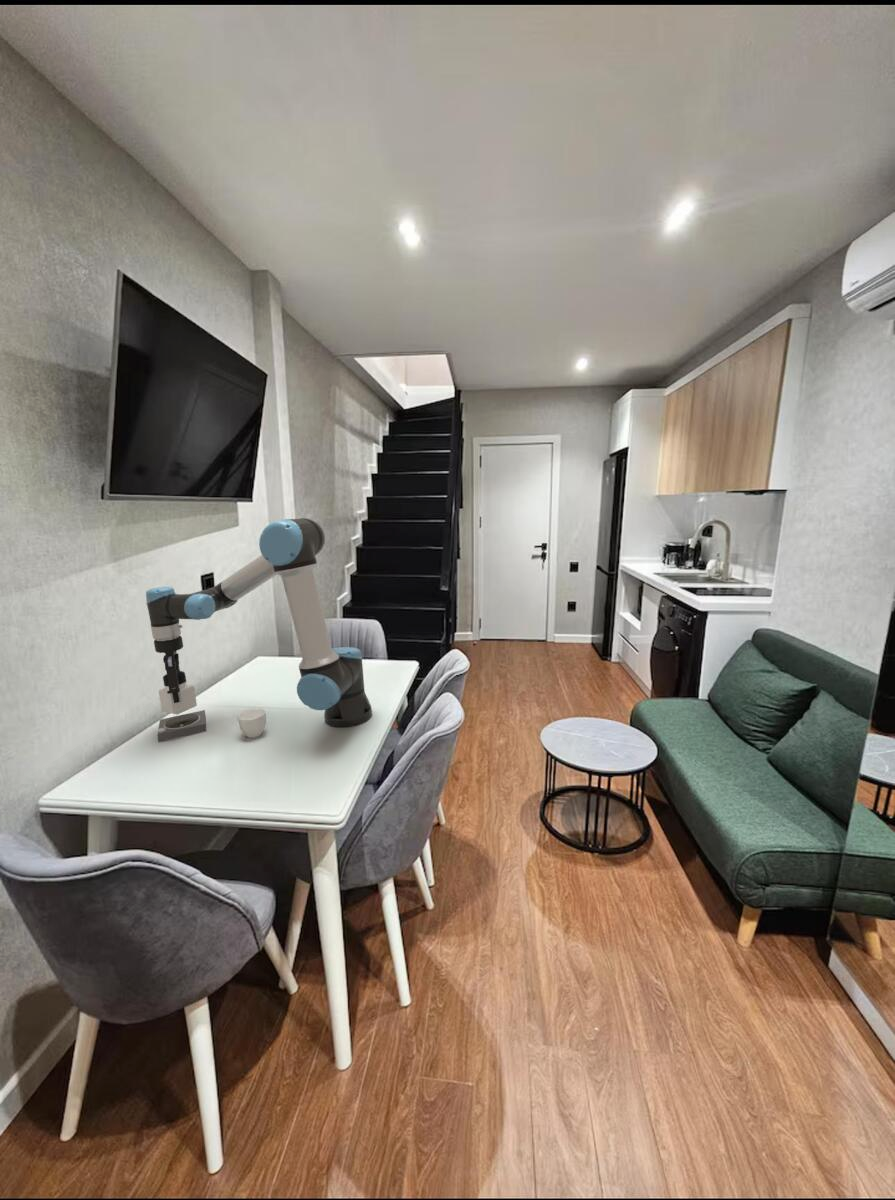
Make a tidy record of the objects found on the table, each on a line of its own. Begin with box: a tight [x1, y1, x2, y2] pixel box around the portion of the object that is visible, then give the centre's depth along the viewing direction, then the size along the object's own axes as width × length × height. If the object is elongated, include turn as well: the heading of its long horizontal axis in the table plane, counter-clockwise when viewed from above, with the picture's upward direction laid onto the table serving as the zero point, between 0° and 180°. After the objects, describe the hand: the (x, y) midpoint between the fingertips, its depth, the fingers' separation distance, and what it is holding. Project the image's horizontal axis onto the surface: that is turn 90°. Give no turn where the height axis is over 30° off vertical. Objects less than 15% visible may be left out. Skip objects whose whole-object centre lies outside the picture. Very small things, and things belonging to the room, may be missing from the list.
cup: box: [237, 708, 267, 739], centre depth 145 cm, size 8×10×7 cm
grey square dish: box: [156, 709, 207, 743], centre depth 151 cm, size 12×13×3 cm
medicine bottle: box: [158, 670, 198, 716], centre depth 148 cm, size 7×7×12 cm
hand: (179, 705), depth 149 cm, fingers closed on medicine bottle, 10 cm apart
